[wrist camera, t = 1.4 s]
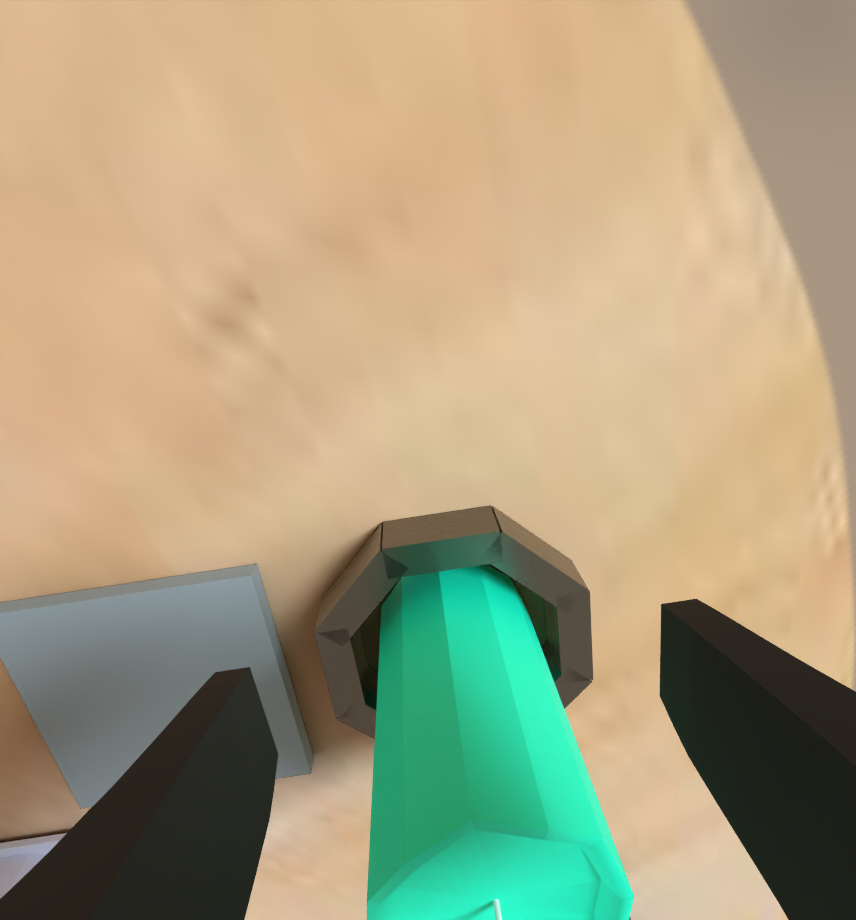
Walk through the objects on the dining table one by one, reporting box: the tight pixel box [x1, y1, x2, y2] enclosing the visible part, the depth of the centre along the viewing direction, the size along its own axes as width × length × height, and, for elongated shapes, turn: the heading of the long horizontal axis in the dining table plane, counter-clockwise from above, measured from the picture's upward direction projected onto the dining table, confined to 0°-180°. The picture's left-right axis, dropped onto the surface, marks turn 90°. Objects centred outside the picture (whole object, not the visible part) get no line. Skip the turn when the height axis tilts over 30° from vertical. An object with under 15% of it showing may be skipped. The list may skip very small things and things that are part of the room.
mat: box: [0, 564, 314, 808], centre depth 21 cm, size 10×10×1 cm
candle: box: [367, 565, 634, 920], centre depth 16 cm, size 6×6×12 cm
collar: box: [314, 506, 593, 739], centre depth 20 cm, size 10×10×2 cm
